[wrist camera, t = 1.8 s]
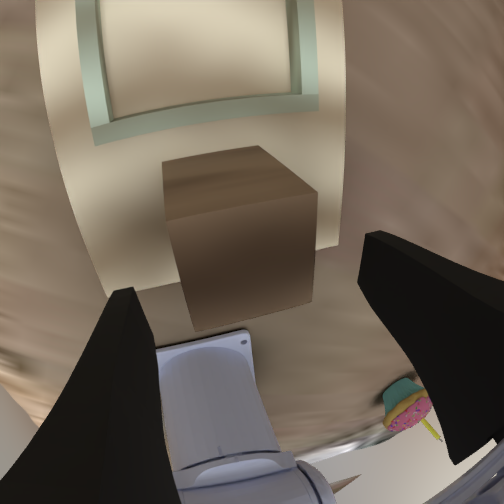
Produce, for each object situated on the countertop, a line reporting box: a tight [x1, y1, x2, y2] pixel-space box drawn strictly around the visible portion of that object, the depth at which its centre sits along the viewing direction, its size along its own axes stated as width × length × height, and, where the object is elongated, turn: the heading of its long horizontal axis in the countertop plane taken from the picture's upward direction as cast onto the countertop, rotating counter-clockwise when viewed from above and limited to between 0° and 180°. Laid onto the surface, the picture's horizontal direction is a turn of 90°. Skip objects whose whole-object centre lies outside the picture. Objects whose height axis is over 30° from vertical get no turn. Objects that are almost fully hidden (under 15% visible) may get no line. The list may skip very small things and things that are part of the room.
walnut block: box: [162, 145, 318, 332], centre depth 12 cm, size 4×4×6 cm
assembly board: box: [35, 0, 346, 297], centre depth 12 cm, size 18×14×2 cm
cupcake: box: [382, 378, 442, 442], centre depth 35 cm, size 9×8×12 cm
